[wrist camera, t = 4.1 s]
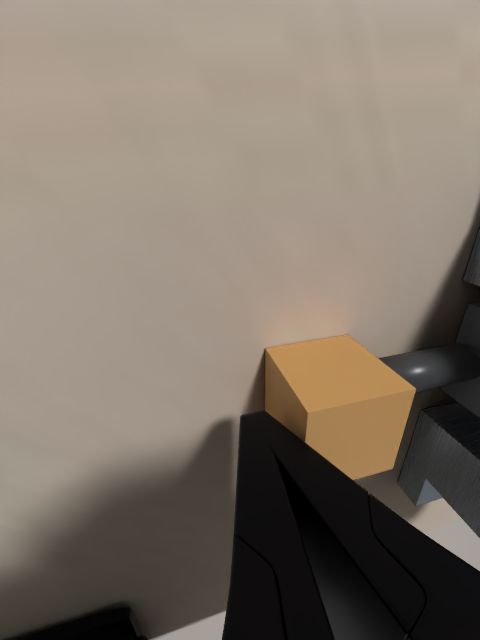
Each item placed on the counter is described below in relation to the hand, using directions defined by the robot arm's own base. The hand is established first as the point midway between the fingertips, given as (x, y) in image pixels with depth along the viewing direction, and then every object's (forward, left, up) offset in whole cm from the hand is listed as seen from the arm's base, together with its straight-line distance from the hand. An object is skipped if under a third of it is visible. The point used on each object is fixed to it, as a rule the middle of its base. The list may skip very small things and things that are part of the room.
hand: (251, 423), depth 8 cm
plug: (+7, 0, -2) cm, 8 cm away
